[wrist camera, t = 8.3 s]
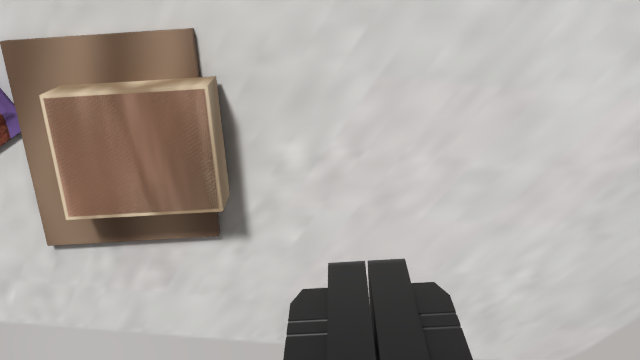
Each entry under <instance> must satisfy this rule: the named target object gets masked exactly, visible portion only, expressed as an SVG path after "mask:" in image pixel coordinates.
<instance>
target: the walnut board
mask: <svg viewBox="0 0 640 360" xmlns="http://www.w3.org/2000/svg"><path fill="white" fill-rule="evenodd" d="M0 45H1V49H2V53H3V58H4V62H5V66H6V70H7V75H8V79H9V83H10V87H11V92H12V96H13V100H14V104H15V109H16V113H17V117H18V122H19V126H20V130H21V134H22V139H23V143H24V147H25V151H26V156H27V160H28V164H29V169H30V173H31V177H32V181H33V186H34V190H35V194H36V198H37V203H38V207H39V211H40V215H41V220H42V224H43V228H44V233H45V237H46V241H47V245H48V246H51V245H69V244H86V243H104V242H121V241H139V240H156V239H174V238H191V237H209V236H219V233H220V229H219V222H218V214H217V212H204V213H185V214H167V215H149V216H131V217H112V218H94V219H76V220H66V217H65V213H64V208H63V204H62V199H61V194H60V190H59V185H58V180H57V176H56V171H55V166H54V162H53V157H52V153H51V148H50V143H49V139H48V134H47V129H46V125H45V120H44V115H43V111H42V106H41V102H40V97H39V95H41V94H43V93H45V92H47V91H50V90H52V89H54V88H56V87H58V86H65V85H82V84H98V83H115V82H132V81H148V80H165V79H182V78H198V77H200V75H199V68H198V60H197V52H196V45H195V37H194V29H193V28H188V29H173V30H158V31H142V32H127V33H112V34H97V35H82V36H66V37H51V38H36V39H21V40H6V41H1V42H0Z"/></svg>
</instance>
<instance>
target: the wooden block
mask: <svg viewBox="0 0 640 360" xmlns="http://www.w3.org/2000/svg"><path fill="white" fill-rule="evenodd" d="M39 97H40V102H41V106H42V111H43V115H44V120H45V125H46V129H47V134H48V139H49V143H50V148H51V153H52V157H53V162H54V166H55V171H56V176H57V180H58V185H59V190H60V194H61V199H62V204H63V208H64V213H65V217H66V220H76V219H94V218H112V217H131V216H149V215H167V214H185V213H204V212H222V211H223V210H224V208H225V205H226V203H227V200H228V198H229V196H230V191H229V183H228V174H227V166H226V157H225V148H224V140H223V131H222V123H221V114H220V106H219V97H218V89H217V80H216V76H215V77H198V78H182V79H165V80H148V81H132V82H115V83H98V84H82V85H65V86H58V87H56V88H54V89H52V90H50V91H47V92H45V93H43V94H41V95H39Z"/></svg>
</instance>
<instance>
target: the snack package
mask: <svg viewBox="0 0 640 360" xmlns="http://www.w3.org/2000/svg"><path fill="white" fill-rule="evenodd" d="M19 132H21V130H20V126H19V122H18V117H17V113H16V109H15V105H14V104H13V103H12V102H11V100H10V99H9V98H8V97H7V96H6V94H5V93H4V92H3V91H2V90H1V88H0V146H2V144H5V142H8V140H10V139H11V138H13V136H16V134H18V133H19Z"/></svg>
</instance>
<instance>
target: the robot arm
mask: <svg viewBox="0 0 640 360" xmlns="http://www.w3.org/2000/svg"><path fill="white" fill-rule="evenodd" d="M368 279H369V294H368V285H367V276H366V267H365V261H356V262H338V263H328V288H316V289H303V290H302V291H301V292H300V293H299V294H298V295H297V297H296V298H295V299H294V300H293V301H292V303H291V304H290V311H289V319H288V327H287V337H286V343H285V351H284V360H473V359H472V356H471V353H470V350H469V347H468V345H467V342H466V339H465V336H464V333H463V331H462V328H461V327H460V322H459V319H458V317H457V315H456V311H455V308H454V306H453V303H452V300H451V297H450V295H449V294H448V293H446V292H445V291H444V290H443V289H442V288H440V287H439V286H438V285H437V284H436V283H434V282H426V283H411V281H410V277H409V273H408V269H407V265H406V261H405V259H390V260H372V261H368ZM369 299H370V304H369Z"/></svg>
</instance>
